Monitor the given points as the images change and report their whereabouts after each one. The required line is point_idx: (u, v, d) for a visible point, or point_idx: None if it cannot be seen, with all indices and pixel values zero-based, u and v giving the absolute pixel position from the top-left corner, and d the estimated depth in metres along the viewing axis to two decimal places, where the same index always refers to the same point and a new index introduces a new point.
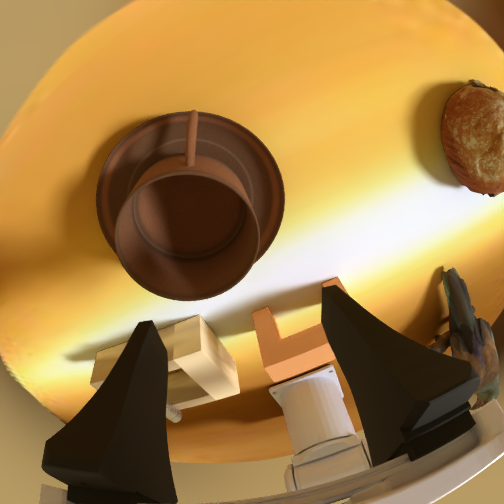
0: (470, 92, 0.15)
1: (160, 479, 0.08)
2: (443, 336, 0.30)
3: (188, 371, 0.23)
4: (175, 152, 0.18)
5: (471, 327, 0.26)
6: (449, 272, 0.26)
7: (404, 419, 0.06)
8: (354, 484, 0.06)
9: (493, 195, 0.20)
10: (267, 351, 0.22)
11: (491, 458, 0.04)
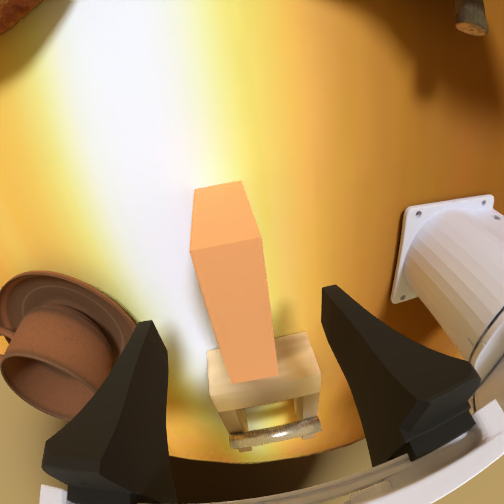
0: None
1: (160, 479, 0.08)
2: None
3: (243, 406, 0.19)
4: None
5: None
6: None
7: (404, 419, 0.06)
8: (354, 484, 0.06)
9: None
10: None
11: (491, 458, 0.04)
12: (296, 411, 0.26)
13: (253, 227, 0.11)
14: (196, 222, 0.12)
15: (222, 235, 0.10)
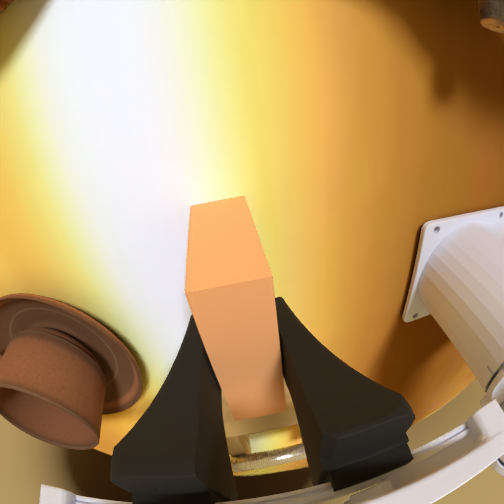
0: None
1: (227, 475, 0.08)
2: None
3: (246, 432, 0.17)
4: None
5: None
6: None
7: (320, 449, 0.06)
8: (354, 484, 0.06)
9: None
10: None
11: (491, 458, 0.04)
12: None
13: (262, 261, 0.09)
14: (192, 251, 0.10)
15: (224, 272, 0.09)
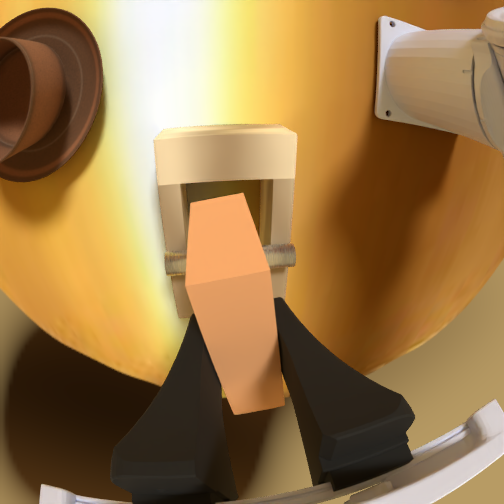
0: None
1: (227, 475, 0.08)
2: None
3: (193, 178, 0.15)
4: None
5: None
6: None
7: (320, 448, 0.06)
8: (354, 484, 0.06)
9: None
10: None
11: (491, 458, 0.04)
12: None
13: (260, 256, 0.09)
14: (192, 247, 0.10)
15: (223, 266, 0.09)
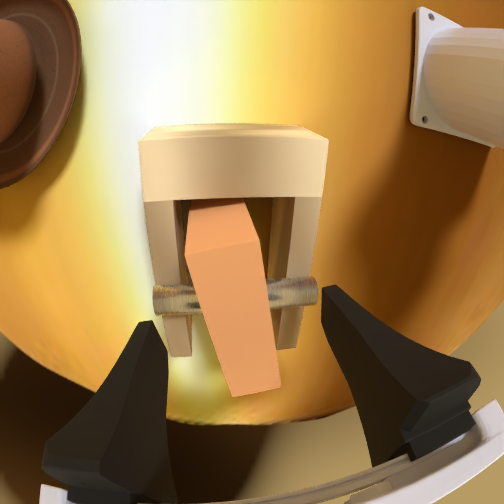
0: None
1: (160, 479, 0.08)
2: None
3: (189, 193, 0.12)
4: None
5: None
6: None
7: (404, 419, 0.06)
8: (354, 484, 0.06)
9: None
10: None
11: (491, 458, 0.04)
12: None
13: (251, 230, 0.10)
14: (192, 227, 0.11)
15: (218, 239, 0.10)
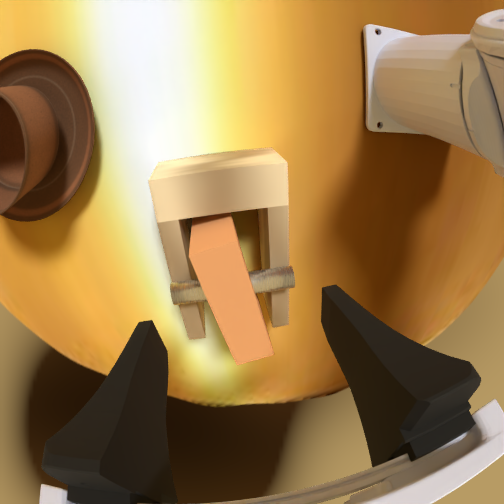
0: None
1: (160, 479, 0.08)
2: None
3: (190, 213, 0.16)
4: None
5: None
6: None
7: (404, 419, 0.06)
8: (354, 484, 0.06)
9: None
10: None
11: (491, 458, 0.04)
12: None
13: (232, 235, 0.15)
14: (193, 237, 0.16)
15: (211, 243, 0.15)
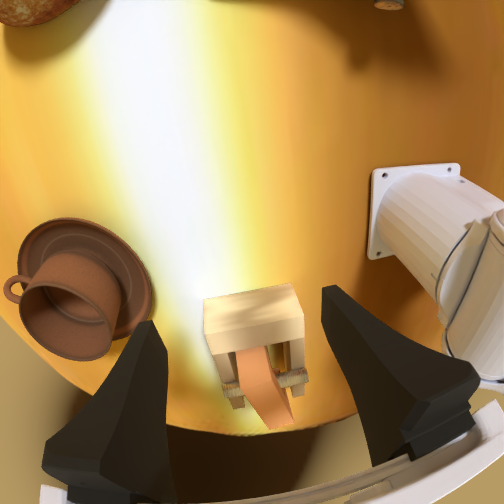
0: None
1: (160, 479, 0.08)
2: None
3: (235, 349, 0.23)
4: None
5: None
6: None
7: (404, 419, 0.06)
8: (354, 484, 0.06)
9: None
10: None
11: (491, 458, 0.04)
12: (286, 369, 0.29)
13: (268, 372, 0.21)
14: (240, 367, 0.22)
15: (254, 378, 0.21)
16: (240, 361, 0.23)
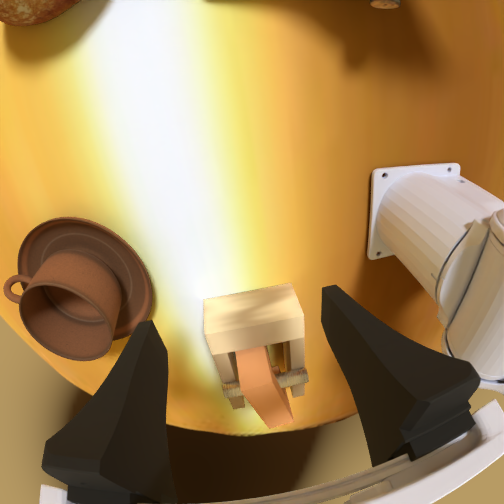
0: None
1: (160, 479, 0.08)
2: None
3: (235, 349, 0.23)
4: None
5: None
6: None
7: (404, 419, 0.06)
8: (354, 484, 0.06)
9: None
10: None
11: (491, 458, 0.04)
12: (286, 369, 0.29)
13: (268, 374, 0.21)
14: (240, 369, 0.22)
15: (254, 380, 0.21)
16: (240, 362, 0.23)
